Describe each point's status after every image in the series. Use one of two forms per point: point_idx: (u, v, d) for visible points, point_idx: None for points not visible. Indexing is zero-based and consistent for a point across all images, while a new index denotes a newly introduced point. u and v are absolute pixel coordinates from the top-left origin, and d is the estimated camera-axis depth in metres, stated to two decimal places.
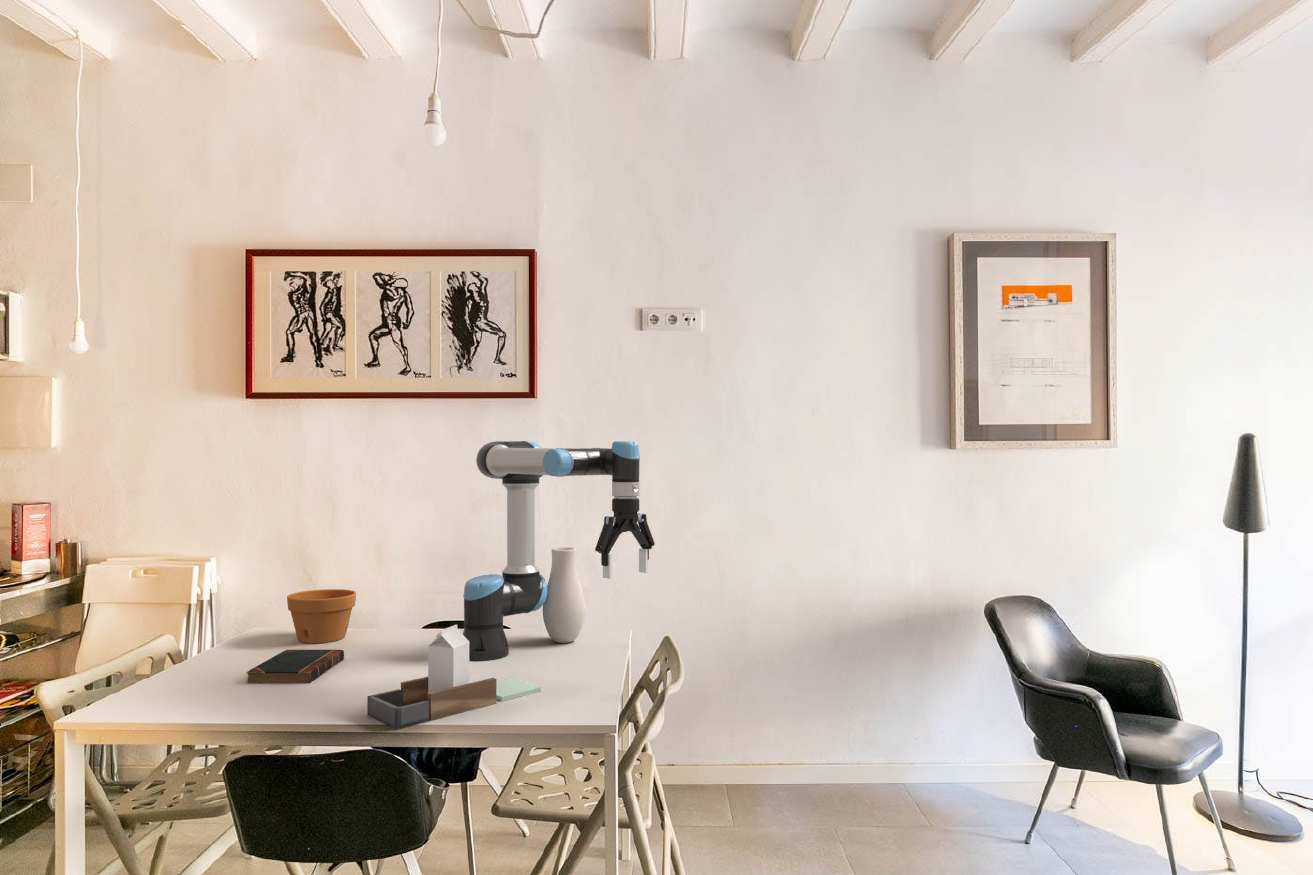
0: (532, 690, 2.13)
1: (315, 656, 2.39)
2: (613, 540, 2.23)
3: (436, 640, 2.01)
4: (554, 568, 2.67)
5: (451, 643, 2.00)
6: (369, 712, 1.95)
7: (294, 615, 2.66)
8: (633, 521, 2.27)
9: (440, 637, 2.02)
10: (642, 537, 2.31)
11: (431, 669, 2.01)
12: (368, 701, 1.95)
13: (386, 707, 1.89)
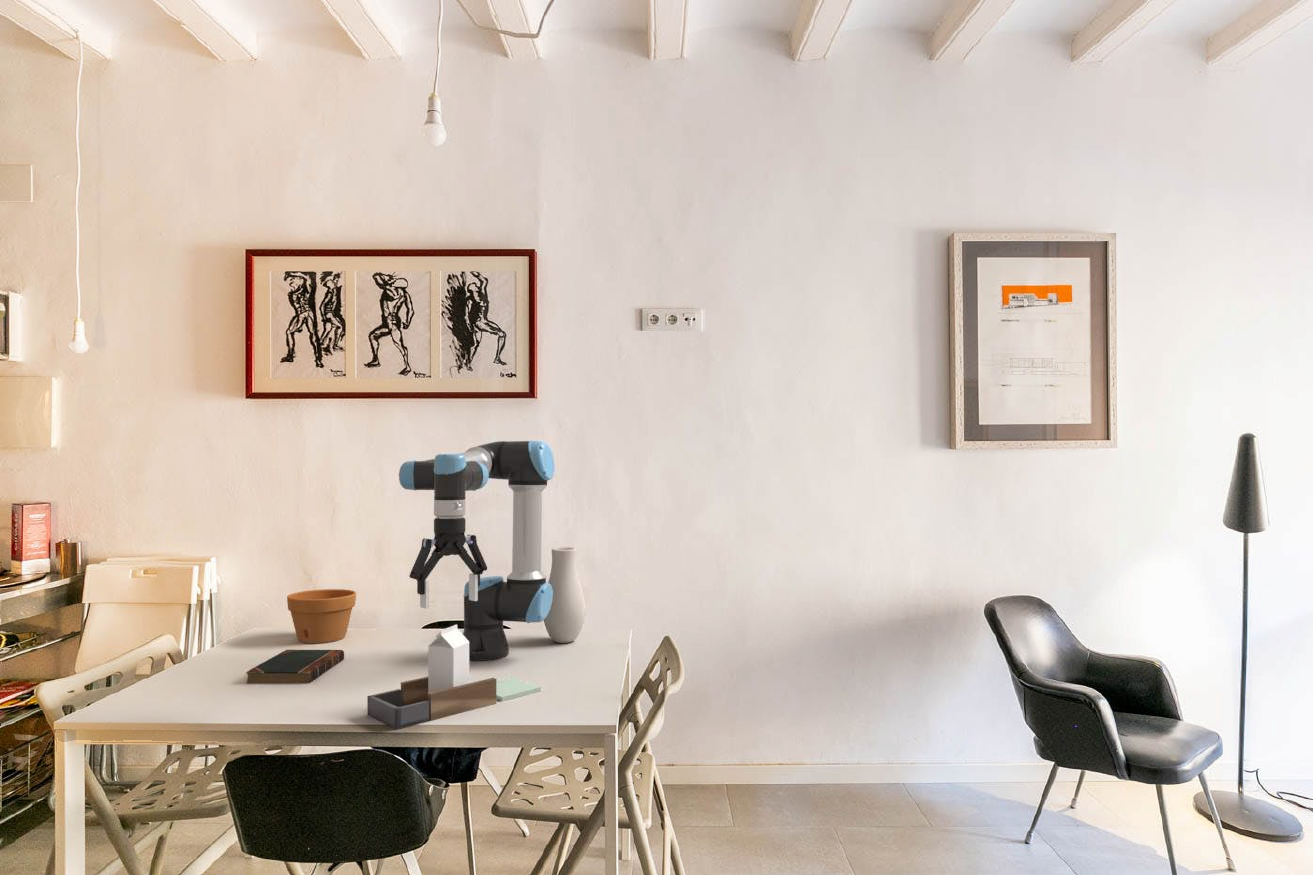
0: (532, 690, 2.13)
1: (315, 656, 2.38)
2: (431, 565, 1.99)
3: (436, 640, 2.01)
4: (554, 568, 2.67)
5: (451, 643, 2.00)
6: (369, 712, 1.95)
7: (294, 615, 2.66)
8: (457, 543, 2.03)
9: (440, 637, 2.02)
10: (470, 561, 2.07)
11: (431, 669, 2.01)
12: (368, 701, 1.95)
13: (386, 707, 1.89)
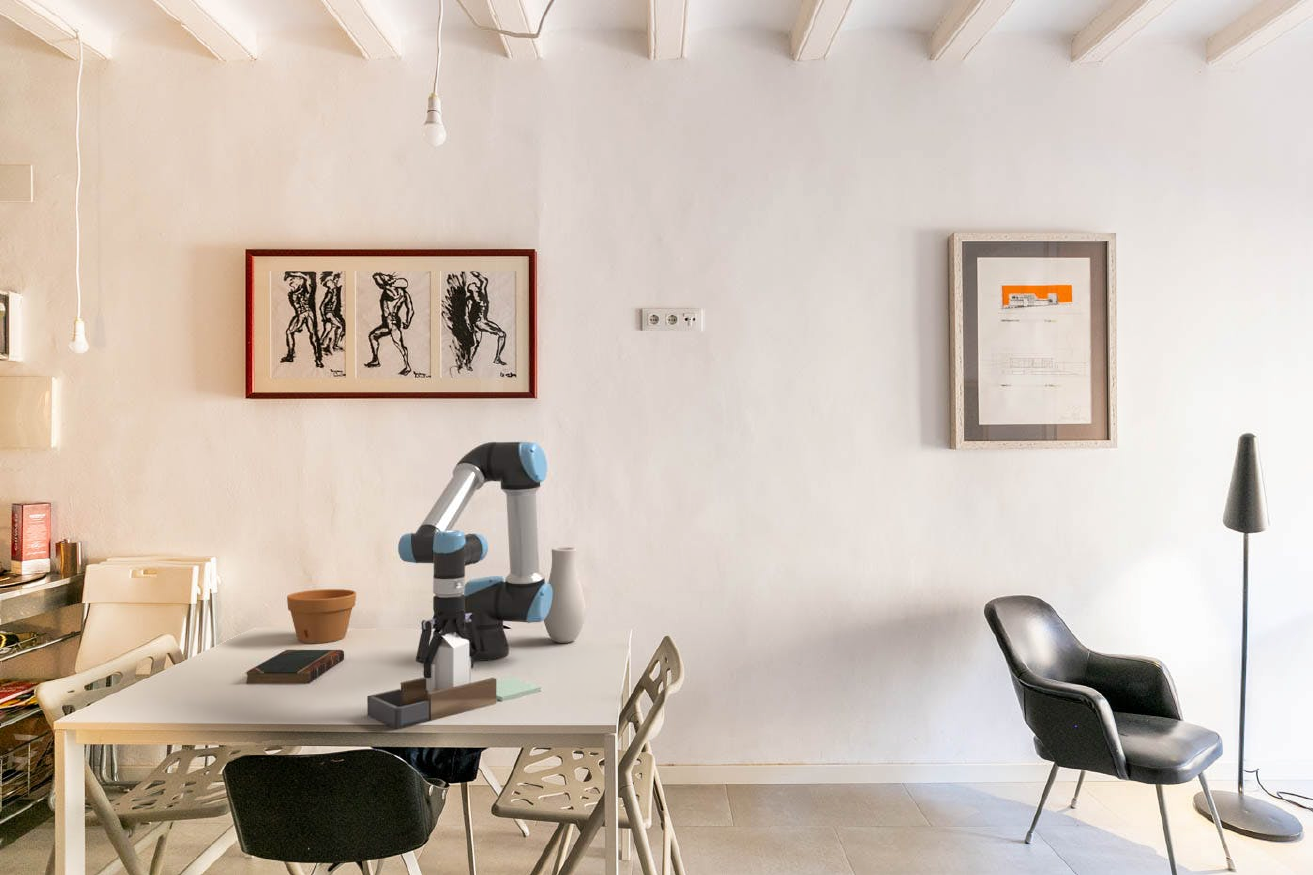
0: (532, 690, 2.13)
1: (315, 656, 2.38)
2: (435, 647, 1.99)
3: None
4: (554, 568, 2.67)
5: (451, 643, 2.00)
6: (369, 712, 1.95)
7: (294, 615, 2.66)
8: (457, 621, 2.03)
9: None
10: None
11: None
12: (368, 701, 1.95)
13: (386, 707, 1.89)
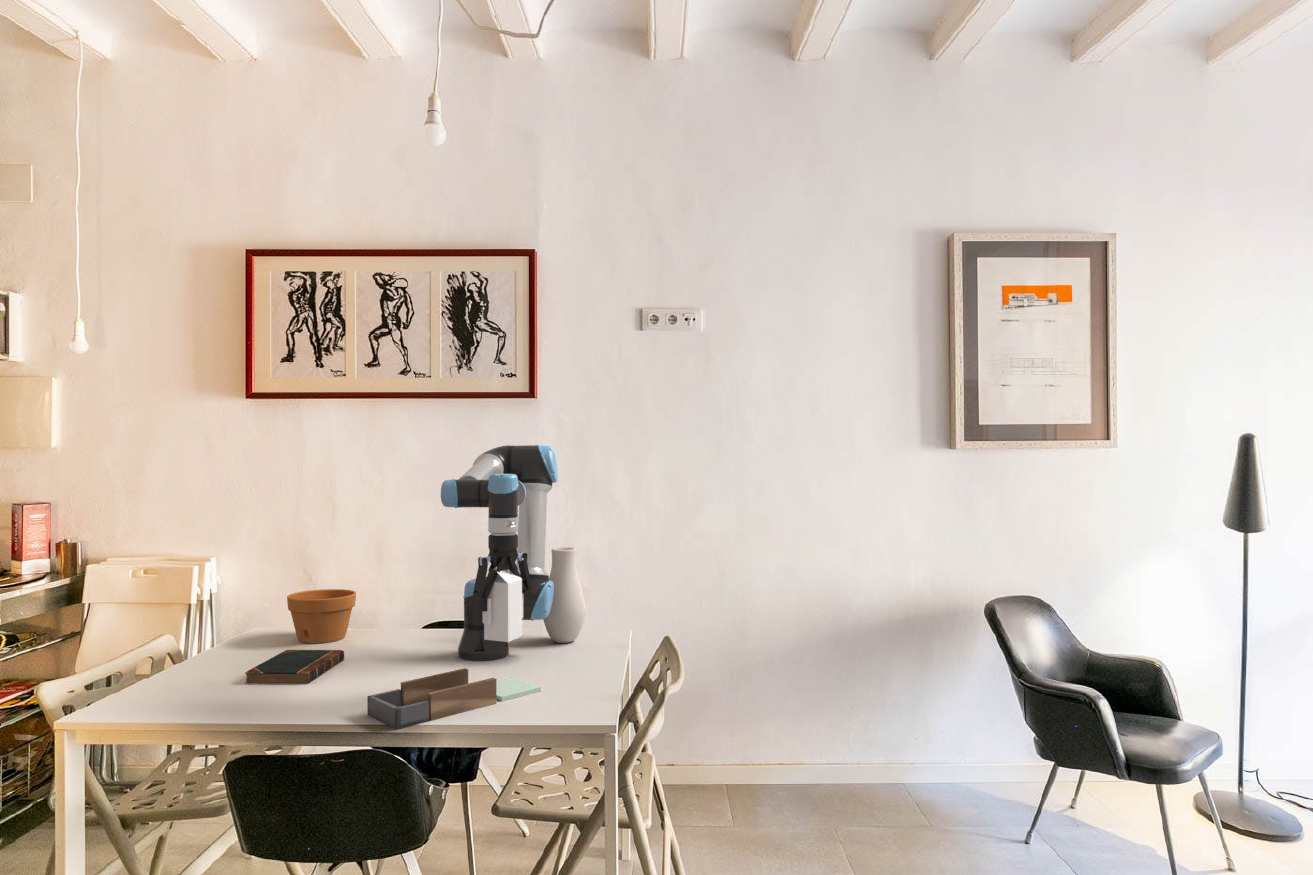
0: (532, 690, 2.13)
1: (315, 656, 2.38)
2: (491, 583, 2.11)
3: None
4: (553, 568, 2.67)
5: (505, 579, 2.12)
6: (369, 712, 1.95)
7: (294, 615, 2.66)
8: (511, 559, 2.14)
9: None
10: None
11: None
12: (368, 701, 1.95)
13: (386, 707, 1.89)
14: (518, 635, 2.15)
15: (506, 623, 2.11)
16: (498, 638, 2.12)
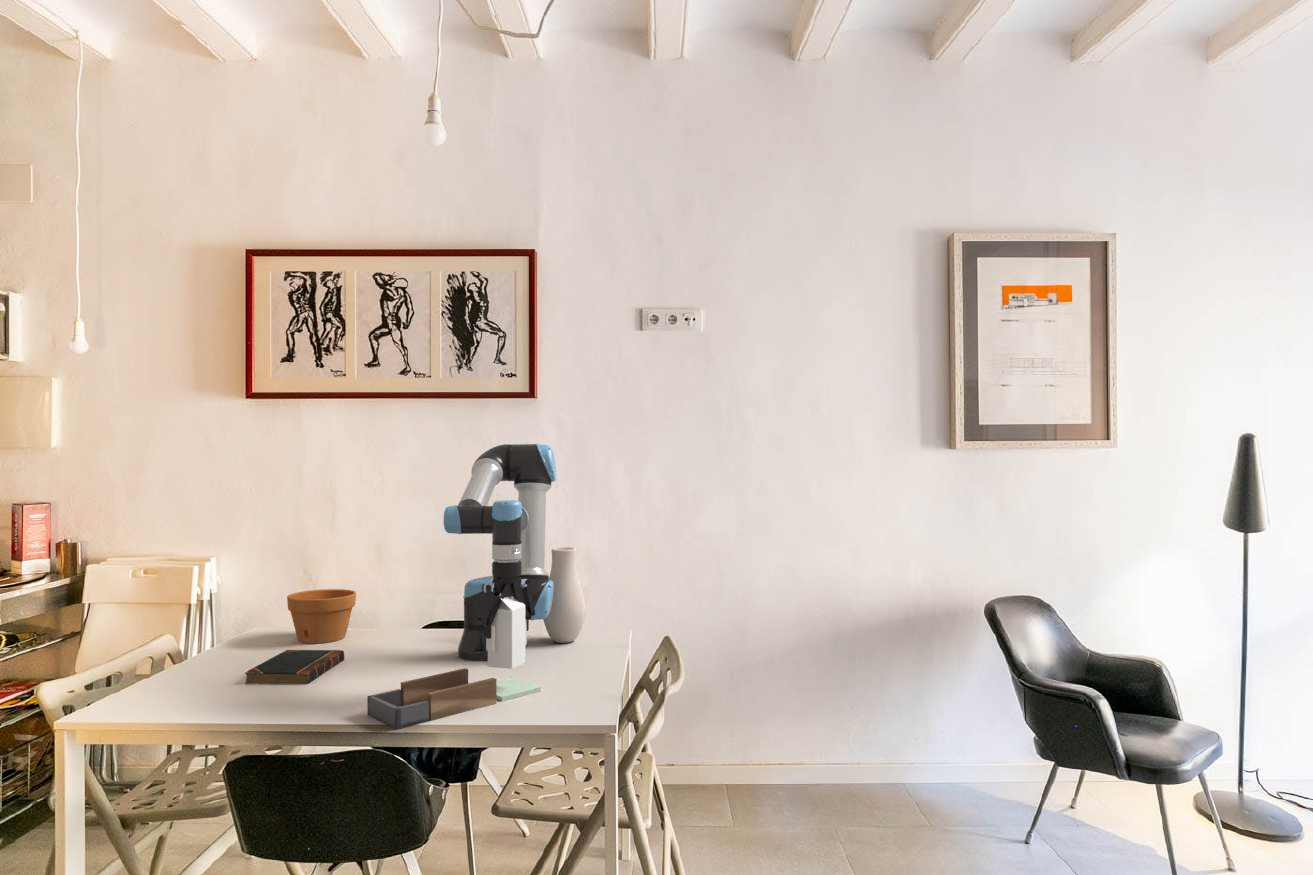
0: (532, 690, 2.13)
1: (315, 657, 2.38)
2: (494, 610, 2.12)
3: None
4: (553, 568, 2.67)
5: (509, 606, 2.12)
6: (369, 712, 1.95)
7: (294, 615, 2.66)
8: (514, 585, 2.15)
9: None
10: None
11: None
12: (368, 701, 1.95)
13: (386, 707, 1.89)
14: (521, 662, 2.16)
15: (510, 650, 2.11)
16: (501, 665, 2.12)
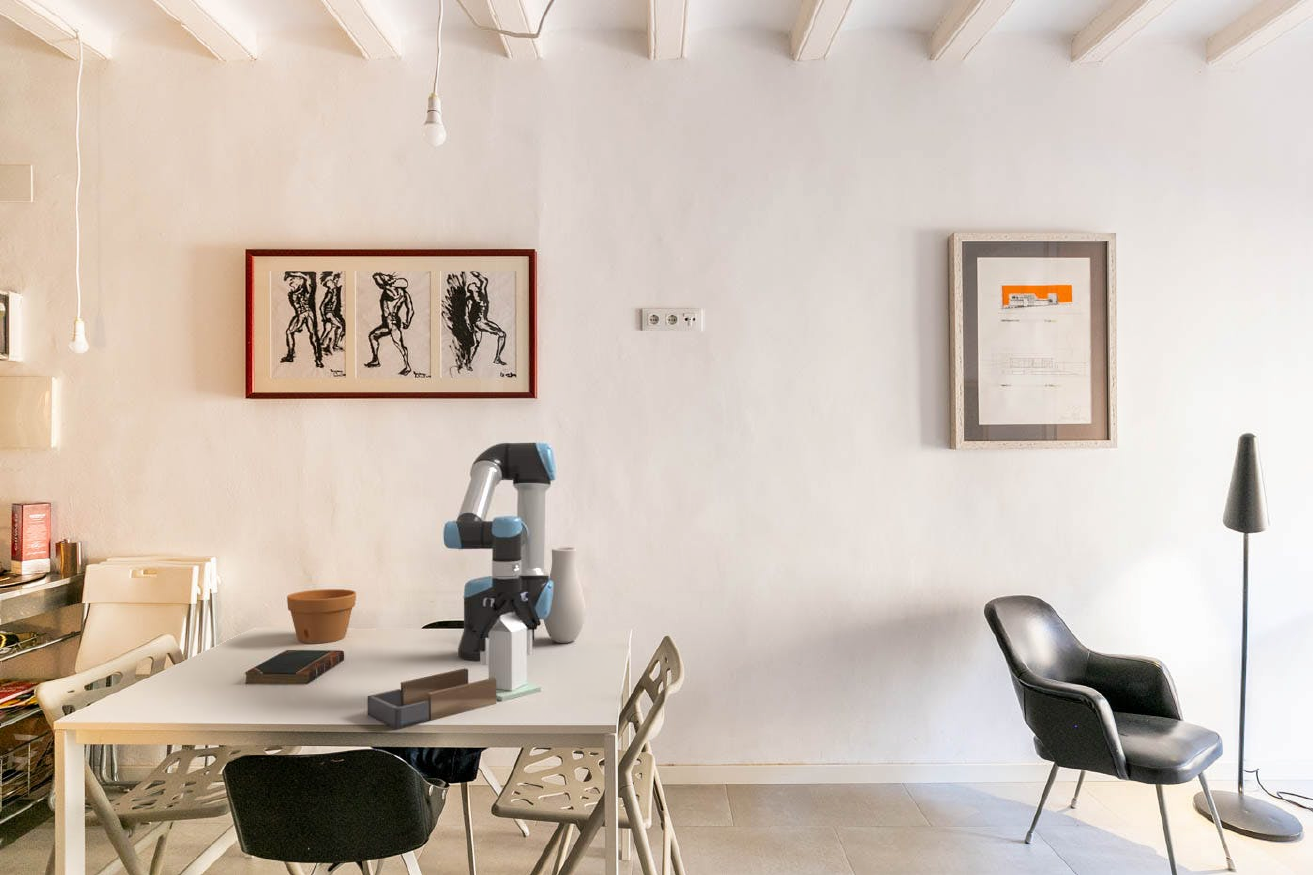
0: (532, 690, 2.13)
1: (314, 657, 2.38)
2: (491, 623, 2.11)
3: (495, 625, 2.14)
4: (554, 568, 2.67)
5: (509, 628, 2.12)
6: (369, 712, 1.95)
7: (294, 615, 2.66)
8: (514, 602, 2.15)
9: (499, 622, 2.14)
10: (526, 617, 2.18)
11: (491, 652, 2.14)
12: (368, 701, 1.95)
13: (386, 707, 1.89)
14: (522, 683, 2.16)
15: (510, 672, 2.11)
16: (501, 687, 2.12)
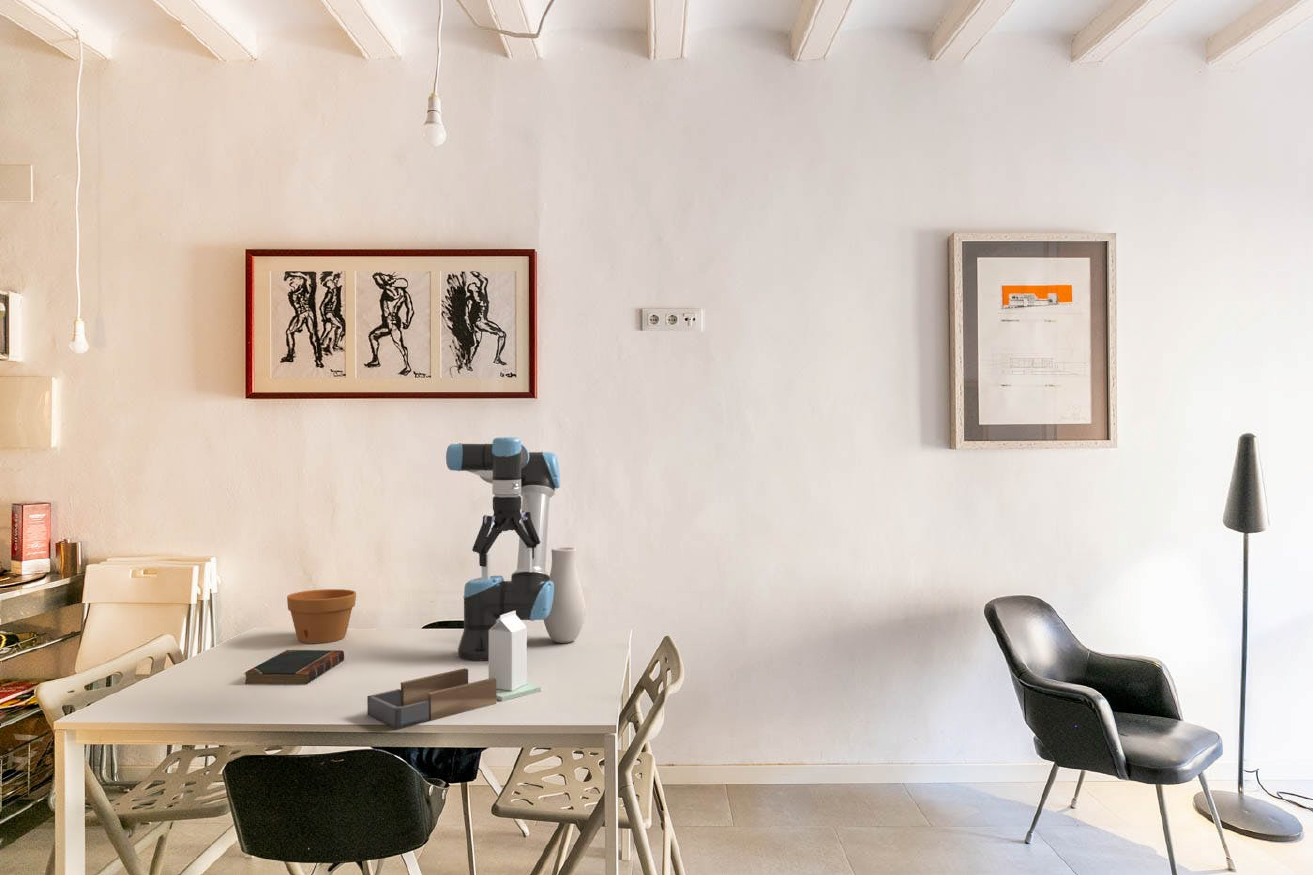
0: (532, 690, 2.13)
1: (314, 657, 2.38)
2: (492, 540, 2.17)
3: (496, 625, 2.14)
4: (553, 568, 2.67)
5: (509, 627, 2.12)
6: (369, 712, 1.95)
7: (294, 615, 2.66)
8: (514, 520, 2.21)
9: (499, 622, 2.14)
10: (526, 536, 2.25)
11: (491, 652, 2.14)
12: (368, 701, 1.95)
13: (386, 707, 1.89)
14: (522, 683, 2.16)
15: (510, 672, 2.11)
16: (501, 687, 2.12)
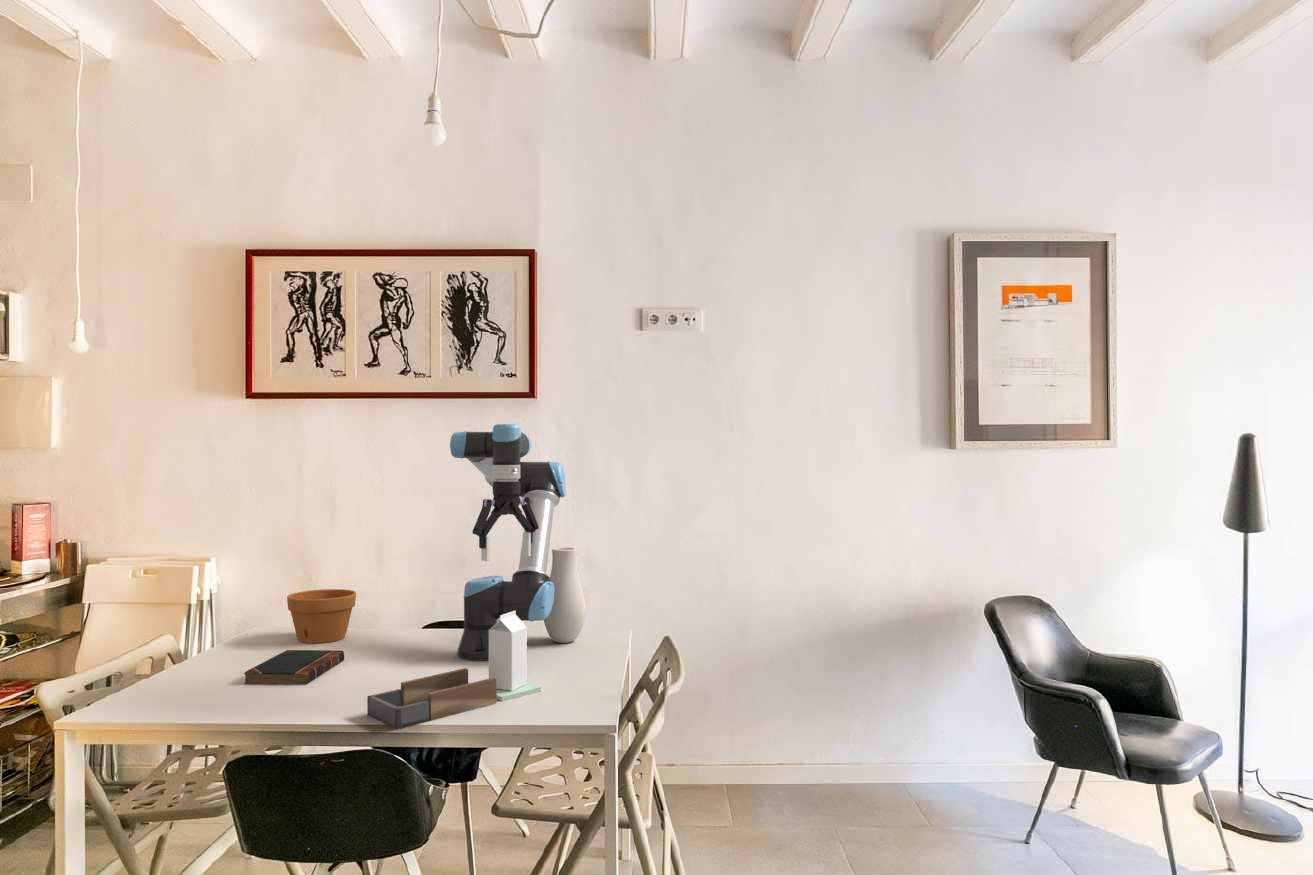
0: (532, 690, 2.13)
1: (314, 657, 2.38)
2: (491, 523, 2.23)
3: (496, 625, 2.14)
4: (554, 568, 2.67)
5: (509, 627, 2.12)
6: (369, 712, 1.95)
7: (294, 615, 2.66)
8: (514, 504, 2.27)
9: (499, 622, 2.14)
10: (524, 520, 2.31)
11: (491, 652, 2.14)
12: (368, 701, 1.95)
13: (386, 707, 1.89)
14: (522, 683, 2.16)
15: (510, 672, 2.11)
16: (501, 687, 2.12)
